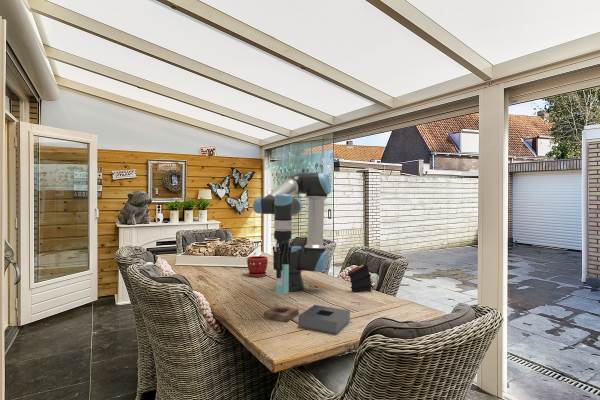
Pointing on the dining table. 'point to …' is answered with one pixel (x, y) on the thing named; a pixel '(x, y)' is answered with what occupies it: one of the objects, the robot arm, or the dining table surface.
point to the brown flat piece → (281, 313)
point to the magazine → (360, 278)
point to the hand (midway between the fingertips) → (282, 283)
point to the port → (324, 319)
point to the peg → (285, 286)
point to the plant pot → (257, 266)
